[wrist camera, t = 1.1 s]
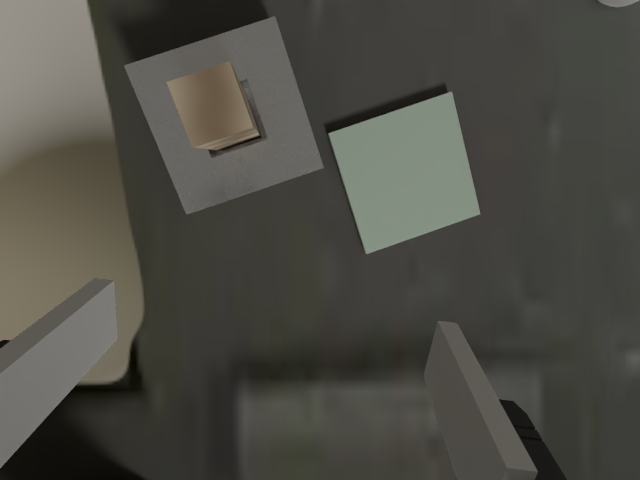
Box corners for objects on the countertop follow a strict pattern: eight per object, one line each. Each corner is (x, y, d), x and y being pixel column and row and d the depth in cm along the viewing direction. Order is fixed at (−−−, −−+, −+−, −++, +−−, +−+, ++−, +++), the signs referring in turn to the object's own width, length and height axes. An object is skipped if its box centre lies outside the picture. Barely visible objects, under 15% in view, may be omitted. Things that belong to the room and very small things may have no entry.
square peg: (221, 150, 40) (192, 147, 27) (205, 108, 39) (166, 82, 26) (261, 137, 40) (253, 126, 27) (246, 94, 39) (229, 61, 26)
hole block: (197, 208, 42) (186, 214, 37) (143, 77, 39) (123, 65, 34) (318, 166, 43) (323, 167, 38) (275, 33, 39) (274, 16, 34)
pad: (364, 252, 45) (366, 254, 44) (327, 133, 42) (328, 133, 41) (476, 212, 46) (480, 214, 45) (447, 92, 42) (451, 91, 41)
